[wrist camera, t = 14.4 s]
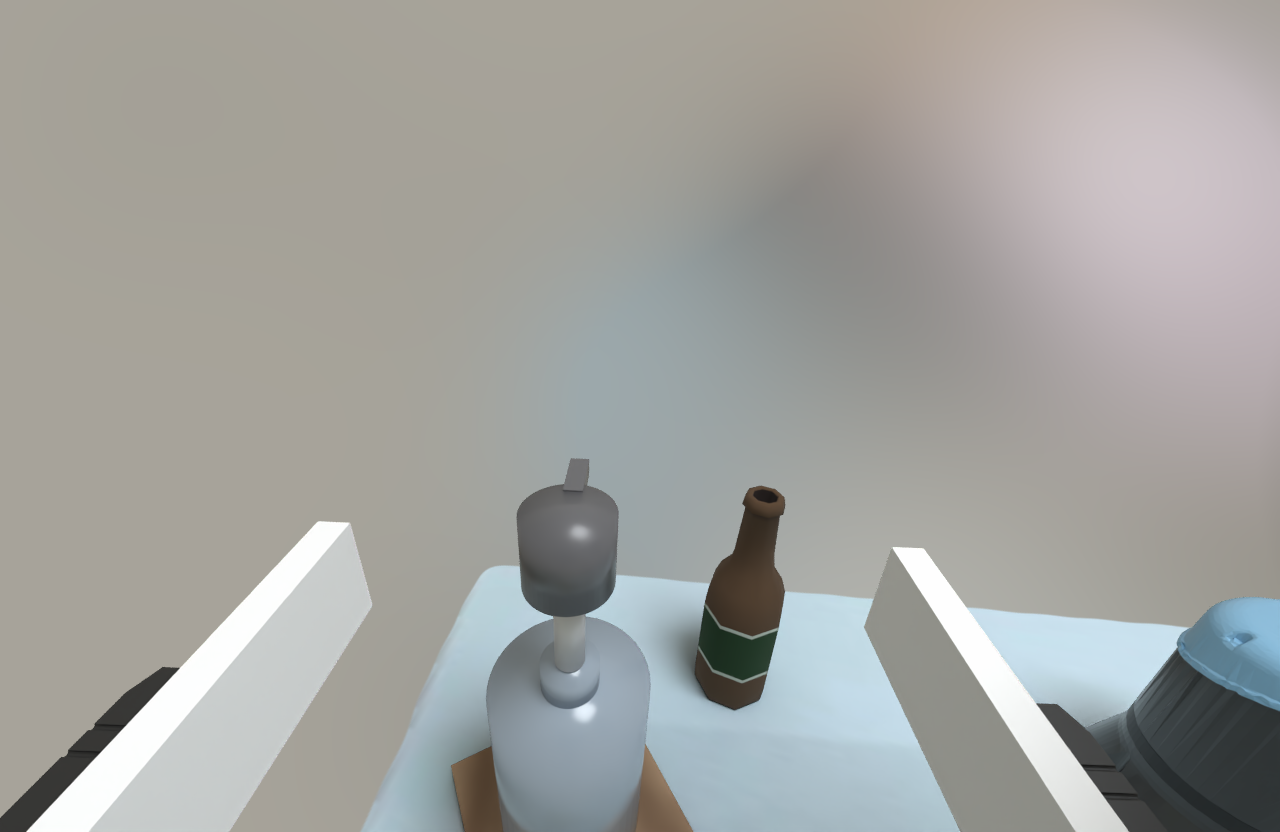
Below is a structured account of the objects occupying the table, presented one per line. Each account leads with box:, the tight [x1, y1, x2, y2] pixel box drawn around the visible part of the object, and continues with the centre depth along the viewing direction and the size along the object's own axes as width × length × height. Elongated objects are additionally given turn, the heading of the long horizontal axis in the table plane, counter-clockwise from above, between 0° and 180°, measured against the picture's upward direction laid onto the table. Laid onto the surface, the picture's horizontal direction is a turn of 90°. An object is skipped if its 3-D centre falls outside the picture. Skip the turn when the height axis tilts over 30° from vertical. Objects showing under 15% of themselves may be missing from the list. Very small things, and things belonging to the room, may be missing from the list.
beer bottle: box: [695, 486, 785, 710], centre depth 48 cm, size 8×8×24 cm
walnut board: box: [451, 744, 693, 832], centre depth 41 cm, size 16×16×1 cm
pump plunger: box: [517, 459, 618, 673], centre depth 31 cm, size 6×8×12 cm
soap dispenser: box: [486, 617, 650, 832], centre depth 37 cm, size 11×11×18 cm
